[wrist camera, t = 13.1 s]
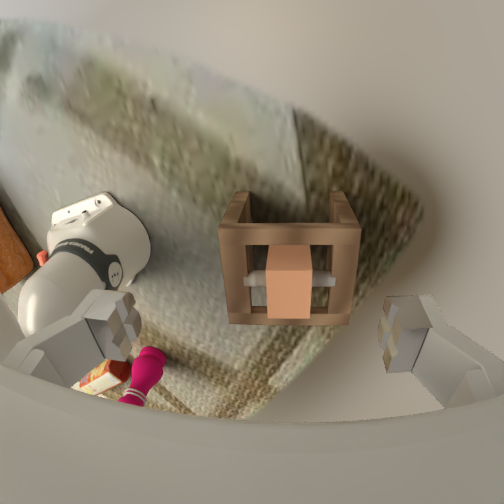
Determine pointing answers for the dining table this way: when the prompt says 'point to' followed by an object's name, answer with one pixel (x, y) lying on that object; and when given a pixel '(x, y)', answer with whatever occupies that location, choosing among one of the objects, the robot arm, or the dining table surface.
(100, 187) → the dining table surface
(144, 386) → the pepper mill
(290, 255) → the tall peach block
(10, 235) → the bread
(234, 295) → the stand
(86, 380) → the snack package
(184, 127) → the dining table surface
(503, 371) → the robot arm
